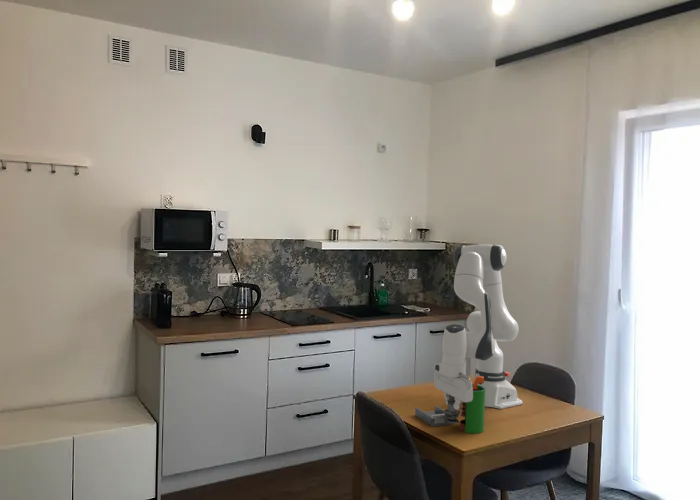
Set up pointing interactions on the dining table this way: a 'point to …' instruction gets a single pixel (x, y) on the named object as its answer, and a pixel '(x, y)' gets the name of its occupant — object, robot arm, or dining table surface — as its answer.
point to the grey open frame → (432, 416)
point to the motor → (474, 409)
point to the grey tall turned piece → (451, 412)
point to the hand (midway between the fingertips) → (452, 406)
